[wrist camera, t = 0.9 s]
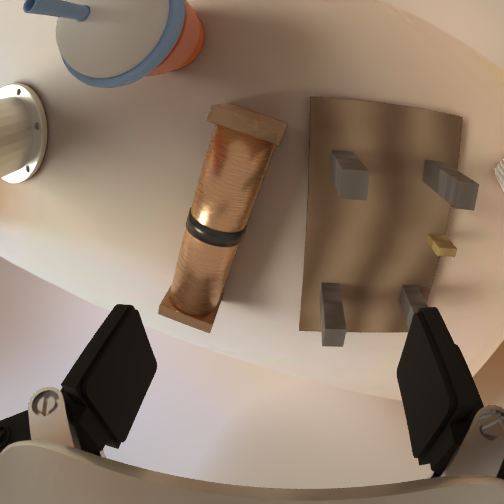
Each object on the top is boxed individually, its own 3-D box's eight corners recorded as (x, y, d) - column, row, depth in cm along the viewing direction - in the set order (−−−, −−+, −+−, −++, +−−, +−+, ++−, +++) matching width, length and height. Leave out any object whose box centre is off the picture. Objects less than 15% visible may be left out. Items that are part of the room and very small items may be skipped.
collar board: (299, 323, 36) (297, 378, 29) (310, 97, 25) (315, 97, 17) (413, 325, 34) (432, 376, 27) (456, 115, 23) (504, 128, 16)
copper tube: (221, 300, 36) (209, 333, 31) (175, 283, 36) (158, 313, 31) (287, 123, 26) (285, 130, 21) (227, 103, 26) (211, 105, 21)
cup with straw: (239, 14, 22) (157, -81, 6) (193, 100, 26) (61, 124, 10) (153, -13, 21) (21, -74, 5) (114, 69, 25) (-40, 79, 9)
